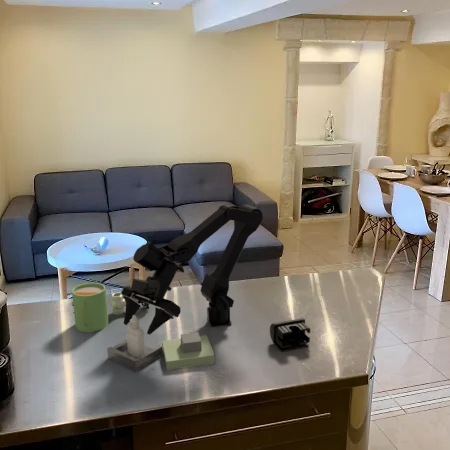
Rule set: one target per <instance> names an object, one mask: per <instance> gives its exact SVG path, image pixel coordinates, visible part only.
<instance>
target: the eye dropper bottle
mask: <svg viewBox="0 0 450 450" xmlns="http://www.w3.org/2000/svg"><path fill="white" fill-rule="evenodd" d="M125 331H126V333H125V334H126V340H127V348H128V353H129V354H130V355H131V356H132V357H135V358H139V357H140V356H142V355H144V354H145V346H146V345H145V332H144V330H143V329H142V327H141V326H140V320H139V318H137V316H136V314H135V315H133V317H132V319H130V322H129V326H128V327H126V329H125Z"/></svg>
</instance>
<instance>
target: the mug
mask: <svg viewBox="0 0 450 450" xmlns="http://www.w3.org/2000/svg"><path fill="white" fill-rule="evenodd" d="M71 295H72V301H71V307H73V314H74V324H75V329H76V330H78V331H79V332H82V333H92V332H96V331H101V330H102V329H105V328H107V326H108V325H109V314H108V313H109V312H108V310H109V309H108V302H107V301H108V300H107V289H106V286H105V284H103V283H100V282H86V283H81V284H79V285H76V286H75V287H73V288H72V290H71Z"/></svg>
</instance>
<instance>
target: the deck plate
mask: <svg viewBox="0 0 450 450" xmlns="http://www.w3.org/2000/svg"><path fill="white" fill-rule="evenodd" d="M161 346H162V353H163V354H162V355H163V358H164V363H165V367H166V371H169V370H175V369H183V368H190V367H191V368H192V367H198V366H207V365H211V364H216V362H215V361H216V360H215V359H216V358H215V352H214V351H213V348H212V345H211V343H210V340H209V337H208V336H207V335H206V334H205V335H200V333H199V332H189V333H181V334H180V338H174V339H168V340H167V339H166V340H162V341H161Z"/></svg>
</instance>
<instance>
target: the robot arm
mask: <svg viewBox="0 0 450 450" xmlns="http://www.w3.org/2000/svg"><path fill="white" fill-rule="evenodd" d="M263 220H264V215H263V211H262V210H260V209H259V208H257V207H254V206H252V205H249V204H242V205H240V206H238V205H227V204H223V205H220V206H219V207H218V208H217V210H215V211H214V212H213V213H212V214H210V216H208V217H207V218H205V220H203V221H202V222H201V223H200V224H198V225H197V226H196V227H195V228H193V229H192V230H191V231H189V232H187V233H183V234H181V235H179V236H177V237H175V238H173V239H172V240H171V241H169V242H168V244H165V245H162V246H159V247H156V246H155V244H154V243H152V242H151V241H146V242H145V243H144V244H142V245H140V246H139V247H138V248H137V249H136V250H135V252H134V255H133V262H134V263H137V264H138V265H139V266H141V267H142V268H144V269H145V270H147V271H148V272H153V271H154V272H153V274H152V276H147V277H146V279H145V280H144V279H139V278H132V281H131V286H129V285H126V286H125V287H123V288H122V290H121V292H120V293H121V294H122V295H123V299H125V302H126V306H125V310H124V317H123V318H124V319H123V325H124V326H128V324H130V319H132V317H133V315H135V316H136V313H137V312H138V311H139V309H140V308H141V307H142V304H140V303H141V302H145V303H148V304H149V305H151V306H153V307H155V310H154V312H155V313H154V316H153V318H152V321H151V322H150V324H149V326H148V329H147V332H146V334H147V335H151V334H153V333H154V332H155V331H156V330H157V329H159V328H160V327H161V326H162V325H164V324H166V323H167V322H168V321H170V320H174V319H175V318H179V316H180V314H181V306H180V305H178V304H177V303H175V302H174V300H173V301H172V300H170V299H167V298H165V296H166V294H167V292H168V291H169V292H171V290H172V287H171V284H172V283H173V281H174V278H175V276H176V274H177V273H185V269H184V267H183V264H186V263H189V261H191V260H192V258H193V257H195V255H196V254H198V251H199V249H200V247H201V246H202V244H203V243H204V242H206V241H207V240H208V239H210V238H211V236H213V235H214V234H215V233H216V232H218V231H219V230H220V229H222V228H223V227H224V226H225V225H226V224H227V223H228V222H230V221H233V226H234V227H233V231H232V234H231V236H230V238H229V241H228V242H227V244H226V246H225V248H224V251H223V253H222V255H221V257H220V259H219V261H218V263H217V266H216V268H215V270H214V271H213V272H212V273H210V275H209V274H208V273H205V275H204V277H203V278H204V279H203V281H202V282H201V283H200V284H199V285H200V293H201V295H202V296H203V298H205V300H206V301H207V302H208V306H207V307H206V318H207V321H208V323H209V324H210V326H211V327H212V328H213V327H220V326H221V327H222V326H229V325H232V320H231V308H233V306H234V303H235V300H234V299H233V298H231V297H230V296H229V295H228V293H229V291H230V277H231V275H232V273H233V270H234V268H235V266H236V264H237V262H238V259H239V258H240V256H241V253H242V251H243V249H244V247H245V245H246V242H247V241H248V239H249V237H250V236H251V235H252V234H253V233H254V232H256V231H257V230H258V228H259V227H260V225H261V223H262V222H263Z"/></svg>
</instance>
